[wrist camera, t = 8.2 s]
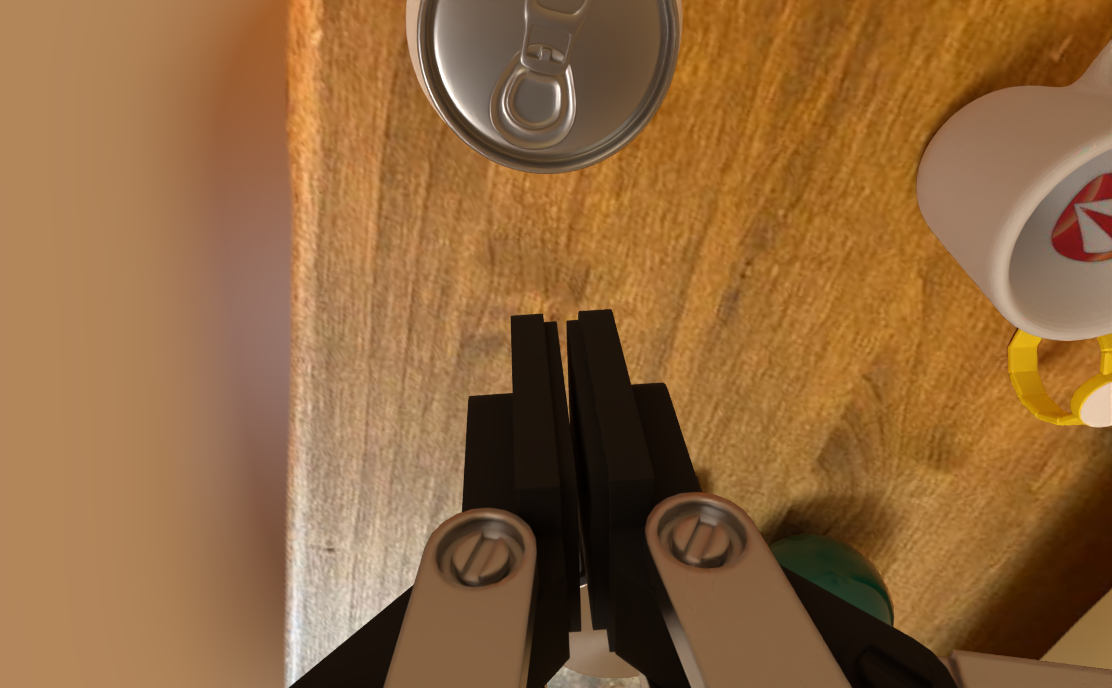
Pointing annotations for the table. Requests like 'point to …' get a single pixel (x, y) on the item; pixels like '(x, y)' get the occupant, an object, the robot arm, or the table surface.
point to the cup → (1030, 201)
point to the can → (545, 74)
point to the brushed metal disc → (594, 647)
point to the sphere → (837, 571)
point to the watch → (1091, 404)
